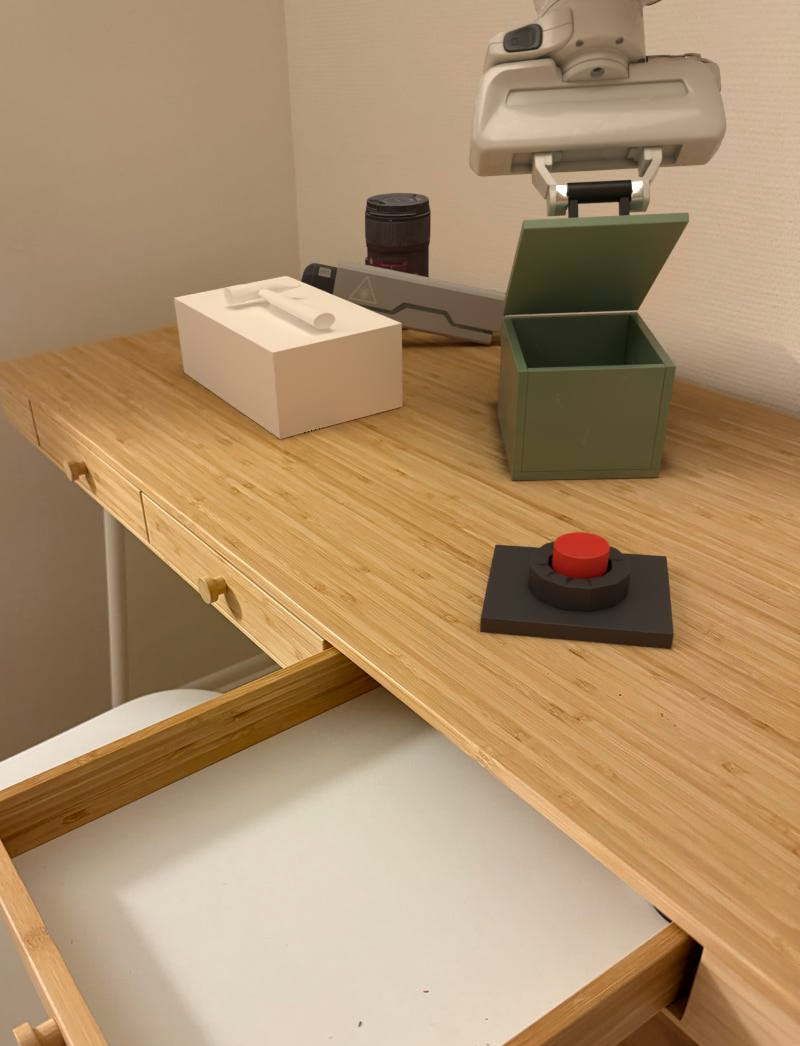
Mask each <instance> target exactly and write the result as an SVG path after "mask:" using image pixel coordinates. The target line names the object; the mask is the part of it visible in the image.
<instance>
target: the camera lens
mask: <svg viewBox="0 0 800 1046" xmlns="http://www.w3.org/2000/svg"><path fill="white" fill-rule="evenodd" d="M431 215H432V210H431V206H430V199H429V197H428V196H426V195H424V194H420V193H413V192H391V193H390V192H387V193H380V194H376V195H371V196H370V197H368V198H367V199H366V205H365V211H364V238H365V247H366V257H365V259H364V265H369V266H374V267H379V268H384V269H389V270H394V271H399V272H404V273H409V274H414V275H419V276H424V277H429V278H430V274H429V273H430V271H429V270H430V267H429V266H430V265H429V262H430V259H429V258H430V243H431V227H432V226H431V222H432V221H431V220H432V219H431V218H432V217H431ZM402 330H405V328H402Z"/></svg>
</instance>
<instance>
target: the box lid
mask: <svg viewBox="0 0 800 1046" xmlns="http://www.w3.org/2000/svg"><path fill="white" fill-rule="evenodd" d="M566 185H567V190H568V193H567V196H568V208H567V214H568V215H567V217H560V218H538V219H537V218H535V219H534V218H533V219H523V220H522V223H521V228H520V233H519V236H518V240H517V241H518V242H517V245H516V249H515V253H514V257H513V262H512V265H511V271H510V274H509V279H508V283H507V286H506V291H505V293H506V295H505V300H504V304H503V308H502V311H503V315H505V316H506V315H508V316H527V315H554V314H582V313H609V312H636V311H639V309H640V307H641V306H642V304H643V302H644V301H645V299H646V297H647V295H648V293H649V291H651V289H652V287H653V284H654V283H655V281H656V280H657V278H658V276H659V274H660V273H661V272H662V270H663V267H664V266H665V264H666V262H667V261H668V259H669V257H670V256H671V254H672V252H673V250H674V249H675V247H676V245H677V243H678V241H679V240H680V238H681V236H682V235H683V233H684V231H685V229H686V228H687V226H688V224H689V223H690V213H689V212H669V213H647V214H630V213H631V212H630V211H629V201H630V198H631V194H632V180H631V179H619V180H617V179H616V180H615V179H614V180H597V181H596V180H595V181H594V180H593V181H576V182H575V181H574V182H566ZM609 203H612V204H613V203H618V215H604V216H602V215H601V216H600V215H599V216H579V205H585V204H586V205H587V204H609Z"/></svg>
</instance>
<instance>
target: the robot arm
mask: <svg viewBox="0 0 800 1046" xmlns="http://www.w3.org/2000/svg"><path fill="white" fill-rule="evenodd" d="M661 1H662V0H532V2H533V7H534V10H535V12H536V14H537V19H534V20H532V21H529V22H527V23H525V24H524V23H523V24H521V25H518V26H516V27H513V28H511V29H507V30H504V31H502V32H499V33H497V34H495V35H493V36H492V37H491V38H490V39H489V42H488V44H487V49H486V53H485V57H484V62H483V70H482V76H481V78H480V80H479V82H478V86H477V88H476V93H475V97H474V105H473V111H472V120H471V128H470V140H469V154H468V155H469V156H468V162H469V163H468V165H469V168H470V170H472V171H473V172H474V173H475V174H476V175H477V176H478V177H484V178H485V177H497V176H499V177H500V176H501V177H502V176H517V175H519V176H520V175H531V184H532V185H533V187H534V188H535V189H536V190H537V192H538V193H539V194H540V195H541V197H542V198H543V199H544V200H546V201H545V204H546V216H547V217H560V216H561V217H564V216H567V211H568V196H567V193H568V190H567V184H558V183H557V181H556V180H555V178H554V177H553V175H552V174H555V173H556V174H557V173H576V172H577V173H578V172H596V171H615V170H616V171H617V170H634V169H637V174H638V177H639V178H641V180H633V181H632V180H631V181H632V194H631V198H630V201H629V211H630V213H646V212H647V210H648V208H649V205H650V202H651V186H652V184H653V182H654V180H655V179H656V177H657V175H658V172H659V170H660V168H673V167H674V168H675V167H692V166H693V167H694V166H704V165H707V164H708V163H709V162H710V161H711V160H712V159H713V158H714V156H715V155H716V154H717V152H718V151H719V150H720V147H721V145H722V144H723V143H722V142H723V140H724V138H725V136H726V132H727V118H726V112H725V106H724V102H723V98H722V94H721V91H722V79H721V69H720V66H719V65H718V63H716V62H715V61H712V60H710V59H708V58H706V57H702V54H701V53H699V52H698V53H697V52H686V53H684V54H653V55H649V54H648V55H647V54H646V37H645V23H644V7H649V6H652V5H656V4H658V3H660V2H661Z"/></svg>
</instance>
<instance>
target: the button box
mask: <svg viewBox="0 0 800 1046" xmlns="http://www.w3.org/2000/svg"><path fill="white" fill-rule="evenodd" d="M554 542H555V541H550V542H546V543H544V544H543V545H542V546H540V547H535V546H523V545H511V544H509V545H508V544H495V545H494V549H493V555H492V559H491V564H490V570H489V574H488V578H487V579H488V580H487V585H486V590H485V594H484V598H483V599H484V600H483V605H482V608H481V614H480V622H479V625H480V626H479V632H480V633H485V634H495V635H496V634H497V635H509V636H519V637H530V638H539V639H554V640H563V641H574V642H587V643H596V644H597V643H598V644H607V645H608V644H609V645H618V646H619V645H620V646H629V647H630V646H631V647H639V648H641V647H642V648H653V649H665V650H672V647H673V642H674V641H673V640H674V636H675V633H674V622H673V611H672V601H671V600H672V599H671V590H670V589H671V588H670V579H669V578H670V577H669V569H668V568H669V567H668V556H666V555H654V554H642V553H641V554H639V553H625V552H621V551H620V550H619V549H618V548H617V547H614V546H611V545H610V552H609V559H608V567H607V571H606V573H605V574H604V575H603V576H600V577H595V578H590V579H579V578H570V577H567V576H564V575H562V574H559V573H556V572H555V571H554V570H553V567H552V559H553V549H554Z"/></svg>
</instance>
